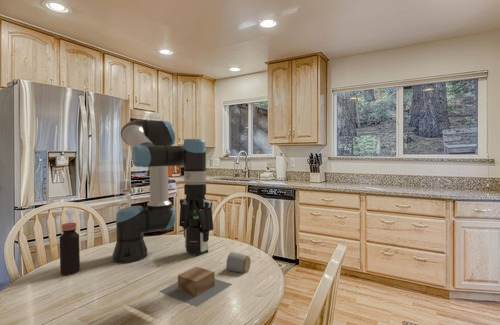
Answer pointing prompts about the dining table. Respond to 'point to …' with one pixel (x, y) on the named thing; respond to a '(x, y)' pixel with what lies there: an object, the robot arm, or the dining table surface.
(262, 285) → the dining table surface
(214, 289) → the mat
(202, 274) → the walnut block
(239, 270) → the ceramic mug
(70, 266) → the vinegar
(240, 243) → the dining table surface
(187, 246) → the supplement bottle
